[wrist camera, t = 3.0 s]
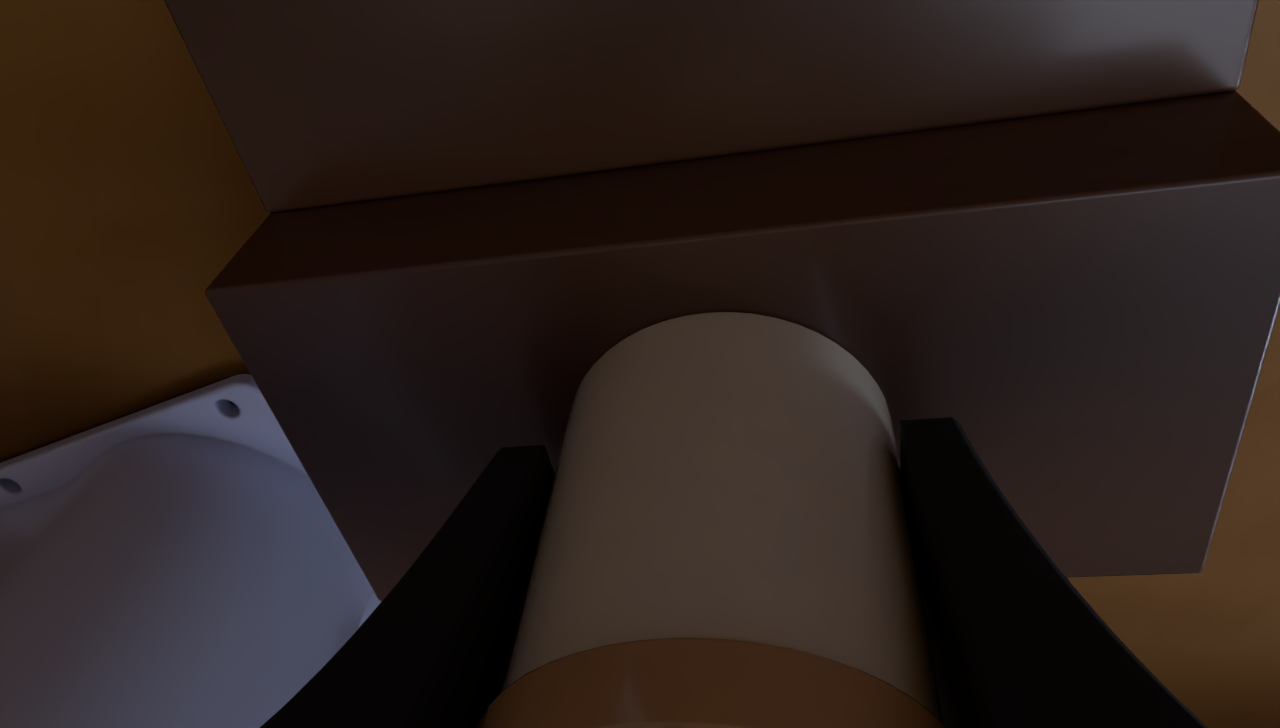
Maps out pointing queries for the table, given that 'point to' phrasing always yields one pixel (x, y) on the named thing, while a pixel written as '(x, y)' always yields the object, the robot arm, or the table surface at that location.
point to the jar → (724, 544)
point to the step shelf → (756, 232)
